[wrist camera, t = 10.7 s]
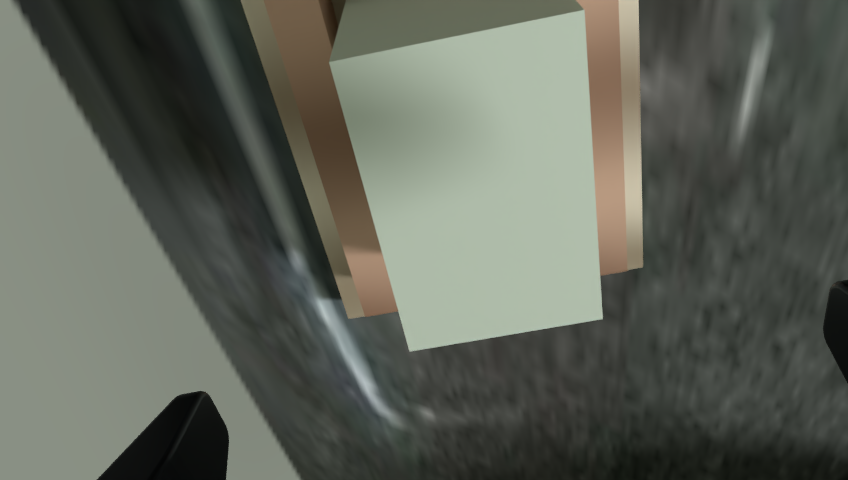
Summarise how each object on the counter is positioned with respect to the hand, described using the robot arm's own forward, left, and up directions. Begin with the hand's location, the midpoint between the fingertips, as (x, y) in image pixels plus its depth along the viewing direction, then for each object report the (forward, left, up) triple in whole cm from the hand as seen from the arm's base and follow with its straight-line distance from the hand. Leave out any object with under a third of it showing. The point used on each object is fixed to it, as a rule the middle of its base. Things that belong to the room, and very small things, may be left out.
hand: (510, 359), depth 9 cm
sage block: (0, 0, -11) cm, 11 cm away
